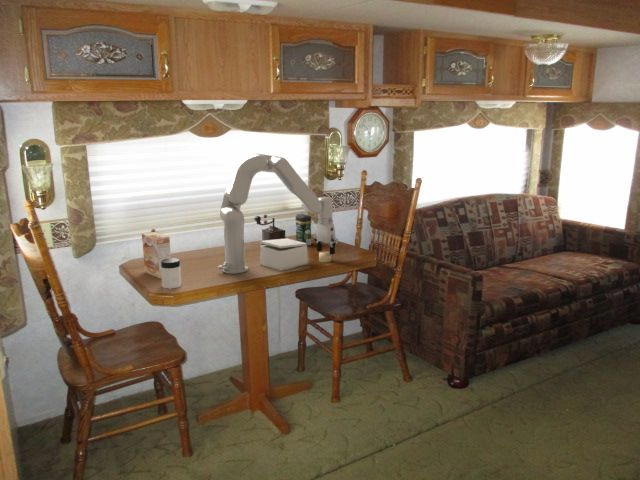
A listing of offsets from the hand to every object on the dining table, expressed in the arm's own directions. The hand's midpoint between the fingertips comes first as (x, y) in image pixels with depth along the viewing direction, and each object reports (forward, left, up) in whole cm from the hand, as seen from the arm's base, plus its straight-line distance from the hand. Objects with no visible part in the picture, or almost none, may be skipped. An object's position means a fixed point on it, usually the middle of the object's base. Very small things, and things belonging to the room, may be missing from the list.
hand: (325, 252), depth 283 cm
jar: (-79, +19, -5) cm, 82 cm away
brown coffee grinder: (+1, +47, -5) cm, 47 cm away
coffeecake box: (-74, +41, -5) cm, 85 cm away
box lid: (-20, +10, +6) cm, 23 cm away
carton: (-20, +10, -5) cm, 23 cm away
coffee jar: (+16, +34, -5) cm, 38 cm away
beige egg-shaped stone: (0, 0, -5) cm, 5 cm away
